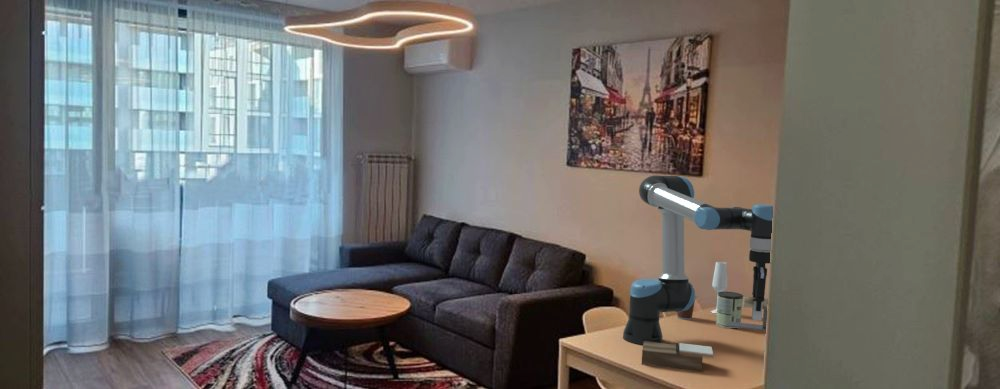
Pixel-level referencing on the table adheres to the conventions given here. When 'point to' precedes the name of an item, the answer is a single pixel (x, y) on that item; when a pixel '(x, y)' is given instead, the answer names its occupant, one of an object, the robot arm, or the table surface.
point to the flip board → (669, 357)
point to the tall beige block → (750, 304)
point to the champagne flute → (719, 279)
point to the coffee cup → (686, 313)
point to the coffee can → (729, 308)
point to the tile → (695, 350)
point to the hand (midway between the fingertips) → (756, 318)
